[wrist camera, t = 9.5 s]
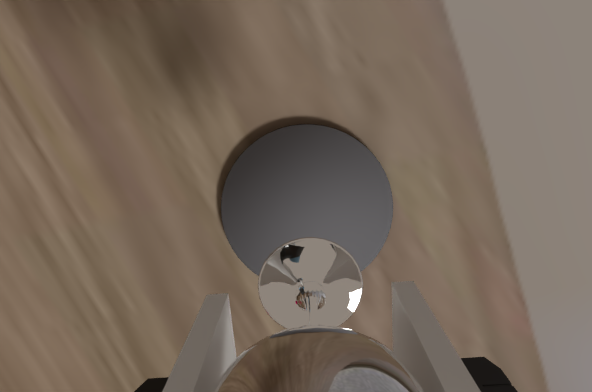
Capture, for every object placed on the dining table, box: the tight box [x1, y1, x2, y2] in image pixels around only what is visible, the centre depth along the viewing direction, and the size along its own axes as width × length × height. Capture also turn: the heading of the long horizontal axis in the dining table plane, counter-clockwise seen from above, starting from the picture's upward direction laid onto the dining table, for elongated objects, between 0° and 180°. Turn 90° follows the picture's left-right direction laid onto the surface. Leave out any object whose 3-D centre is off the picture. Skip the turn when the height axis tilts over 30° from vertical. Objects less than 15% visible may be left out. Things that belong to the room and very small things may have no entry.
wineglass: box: [212, 237, 428, 392], centre depth 11 cm, size 6×6×12 cm
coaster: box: [221, 124, 393, 276], centre depth 28 cm, size 12×12×1 cm
